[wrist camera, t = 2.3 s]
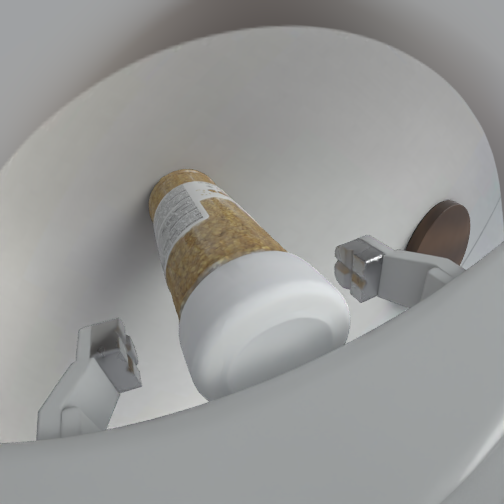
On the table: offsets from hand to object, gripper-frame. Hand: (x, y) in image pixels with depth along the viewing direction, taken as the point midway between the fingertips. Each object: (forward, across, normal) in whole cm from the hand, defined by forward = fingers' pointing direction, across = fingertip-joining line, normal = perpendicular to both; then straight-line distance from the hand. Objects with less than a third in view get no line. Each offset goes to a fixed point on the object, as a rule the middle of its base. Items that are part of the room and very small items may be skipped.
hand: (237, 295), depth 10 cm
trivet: (+10, -28, +13) cm, 32 cm away
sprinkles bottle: (+10, 0, 0) cm, 10 cm away
